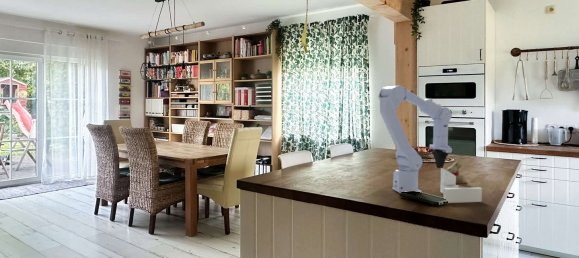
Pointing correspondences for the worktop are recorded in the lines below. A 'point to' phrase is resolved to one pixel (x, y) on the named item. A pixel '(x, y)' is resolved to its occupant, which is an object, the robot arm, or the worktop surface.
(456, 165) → the chocolate bunny
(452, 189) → the wall panel
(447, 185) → the white wedge bracket
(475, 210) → the worktop surface
